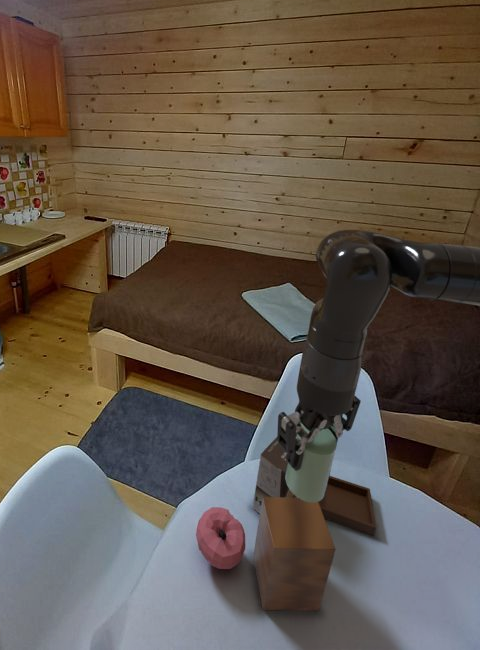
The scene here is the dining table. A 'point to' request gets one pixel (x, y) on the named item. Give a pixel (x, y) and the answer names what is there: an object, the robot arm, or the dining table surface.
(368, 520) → the tray
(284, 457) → the coffee box
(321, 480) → the pale green cylinder
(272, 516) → the stand
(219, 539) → the apple
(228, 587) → the dining table surface
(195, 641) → the dining table surface
